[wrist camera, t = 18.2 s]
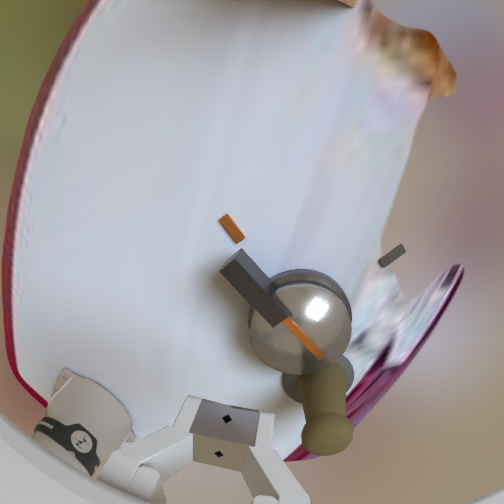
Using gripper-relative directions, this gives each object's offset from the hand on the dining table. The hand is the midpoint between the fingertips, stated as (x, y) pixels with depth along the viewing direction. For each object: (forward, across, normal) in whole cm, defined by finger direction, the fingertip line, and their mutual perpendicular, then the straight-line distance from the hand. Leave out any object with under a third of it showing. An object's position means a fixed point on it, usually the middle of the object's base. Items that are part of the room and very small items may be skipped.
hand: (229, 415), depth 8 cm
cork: (+21, -9, +14) cm, 27 cm away
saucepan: (+19, -2, +5) cm, 20 cm away
